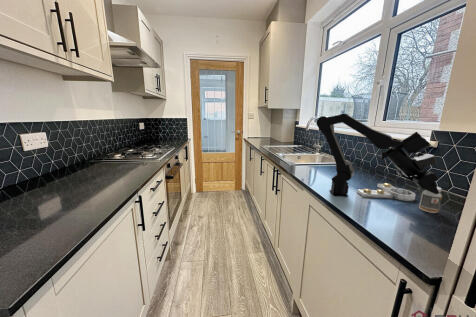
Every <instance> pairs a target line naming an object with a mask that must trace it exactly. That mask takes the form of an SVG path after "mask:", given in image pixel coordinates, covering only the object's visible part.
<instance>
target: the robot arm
mask: <svg viewBox="0 0 476 317" xmlns="http://www.w3.org/2000/svg"><path fill="white" fill-rule="evenodd" d="M341 123H343V124H344V125H346V126H348V127H349V128H351V129H352V130H354V131H356V132H358V133H359V134H360V135H363V136H364V137H366V138H367V139H368V141H370V143H372V144H373V145H374V146H375V147H376V148H377V149H380V150H381V151H380V156H379V157H380V160H384V159H388V160H389V161H390V162H391V163H392V164H393V166H394V167H395V172H396V173H397V174H398V175H400V176H401V177H402V178H404V179H406V180H408V181H410V182H412V183H414V184H415V185H416V186H418V187H420V188H421V189H423V190H424V191H425V190H428V191H430V192H432V193H434V194H438V193H439V191H438V189H437V187H438V186H437V184H436V181H438V180H439V178H440V177H439V176H438V174H437V173H435V172H433V171H430V170H425V169H426V168H425V167H428V166H431V165H437V164H438V161H437V160H436V157H435V155H434V154H432V153H431V154H430V153H423V152H421V151H423V150H425V149H428V148H430V147H431V146H432V144H431V143H430V142H428V140H427V139H426V138H424V136H422V135H421V134H420V133H419V132H418V131H415V132H413V133H411V135H409V136H407V137H406V138H404V139H398V138H394V137H392V136H391V135H390V134H387V133H384V132H382V131H379V130H376V129H373V128H372V127H370V126H368V125H366V124H364V123H363V122H361V121H360V120H358V119H356V118H354V117H352V116H351V115H350V114H348V113H341V114H338V115H332V116H328V115H322V116H320V117H318V118H317V120H316V123H315V124H316V126H317V128H318V129H319V131H320V132H321V133H322V134H323V135H324V136H325V139H326V142H327V145H328V147H329V150H330V152H331V153H332V154H331V155H332V156H333V159H334V161H335V168H336V174H335V175H333V176H332V178H331V187H330V189H329V192H330V193H331V194H332V195H333V196H335V197H349V189H350V188H349V187H350V186H349V182H348V181H350V180H351V179H352V177H353V176H354V174H355V168H354V167H353V163H352V162H351V161H350V162H348V161H347V160H346V158H345V156H344V153H343V151H342V148H341V145H340V143H339V140H338V138H337V136H336V133H335V125H336V124H337V125H338V124H341ZM384 150H385V151H384ZM410 154H414V157H413V158H412V157H411V156H410ZM423 170H424V171H423Z"/></svg>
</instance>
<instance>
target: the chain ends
mask: <svg viewBox="0 0 476 317" xmlns="http://www.w3.org/2000/svg"><path fill="white" fill-rule="evenodd" d="M376 187H377V189H370V188H363V189H359V188H358V189H357V191H356V193H358V194H359V195H360V196H361V197H362V198H376V199H377V198H378V199H396V200H400V201H405V202H413V201H415V199H416V193H415V192H413V191H412V190H409V189H405V188H399V187H396V186H393V185H392V184H391V183H390V182H389V183H388V182H387V183H386V182H383V183H377V186H376Z"/></svg>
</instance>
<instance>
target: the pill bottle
mask: <svg viewBox="0 0 476 317" xmlns="http://www.w3.org/2000/svg"><path fill="white" fill-rule="evenodd" d="M436 187H437V189H438V191H439V193H438V194H434V193H432V192H430V191H428V190H425V189H424V190H422V191H421V197H420V200H419V204H418V209H420V210H421V211H423V212H426V213H431V214H436V213H439V210H440V207H441V201H442V198H443V194H442V193H441V192H442V188H441V187H440V186H436Z"/></svg>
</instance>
